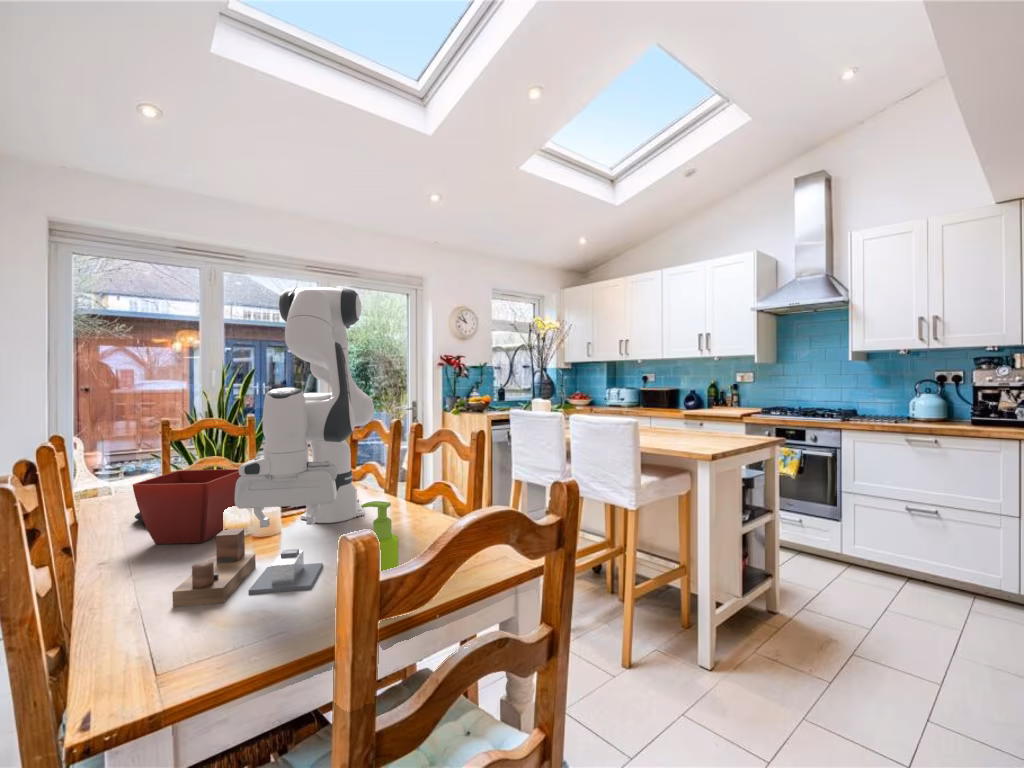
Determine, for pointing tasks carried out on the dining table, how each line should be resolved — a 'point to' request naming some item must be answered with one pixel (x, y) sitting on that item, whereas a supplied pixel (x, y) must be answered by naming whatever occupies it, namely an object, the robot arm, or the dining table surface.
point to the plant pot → (186, 504)
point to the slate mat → (301, 583)
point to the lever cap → (287, 566)
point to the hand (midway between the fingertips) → (288, 525)
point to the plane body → (217, 572)
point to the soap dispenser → (385, 535)
